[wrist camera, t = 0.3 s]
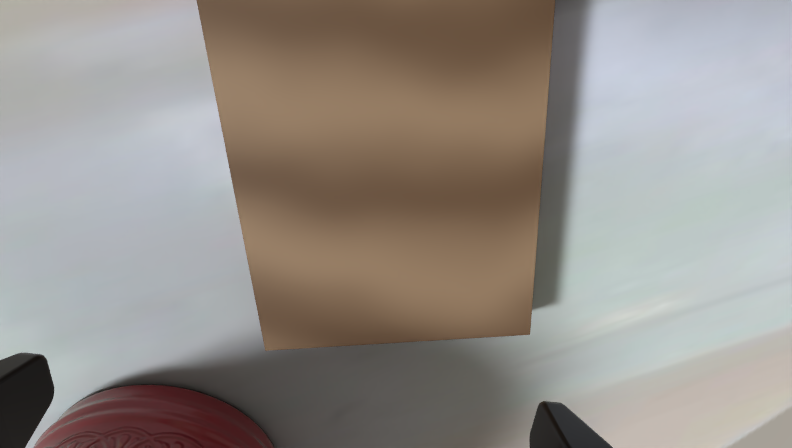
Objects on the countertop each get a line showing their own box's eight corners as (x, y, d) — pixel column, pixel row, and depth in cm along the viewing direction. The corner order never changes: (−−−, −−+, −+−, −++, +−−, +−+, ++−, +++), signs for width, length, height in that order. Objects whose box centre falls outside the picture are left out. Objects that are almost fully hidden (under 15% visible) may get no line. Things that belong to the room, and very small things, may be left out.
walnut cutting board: (202, -40, 20) (189, -38, 19) (546, -59, 20) (559, -58, 19) (270, 328, 27) (265, 350, 26) (521, 313, 27) (529, 334, 26)
